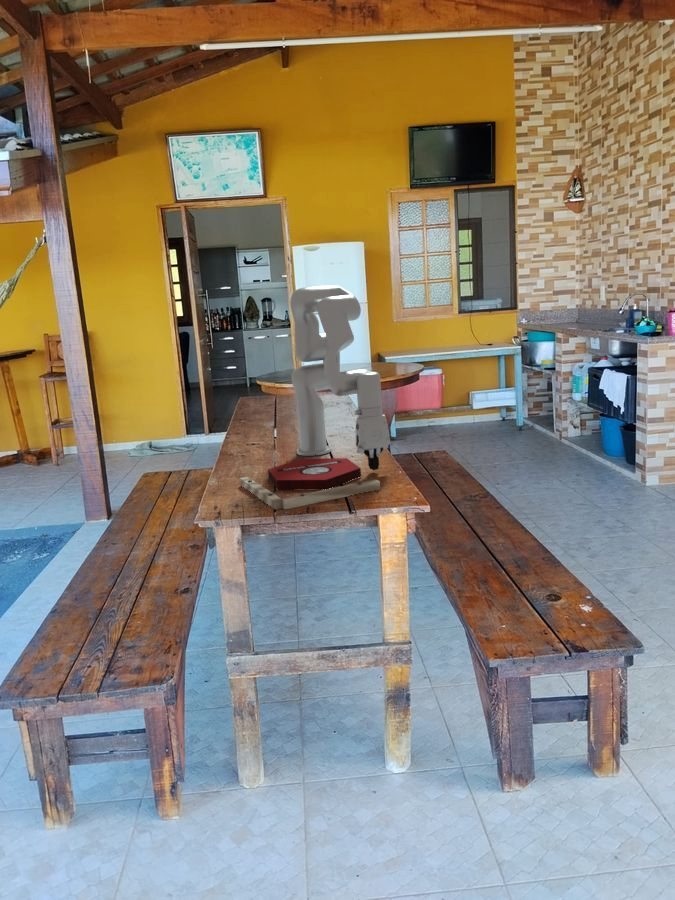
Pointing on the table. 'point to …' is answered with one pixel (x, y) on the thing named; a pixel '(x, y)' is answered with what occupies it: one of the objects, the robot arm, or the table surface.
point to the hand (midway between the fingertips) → (374, 468)
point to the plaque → (313, 473)
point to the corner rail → (309, 497)
